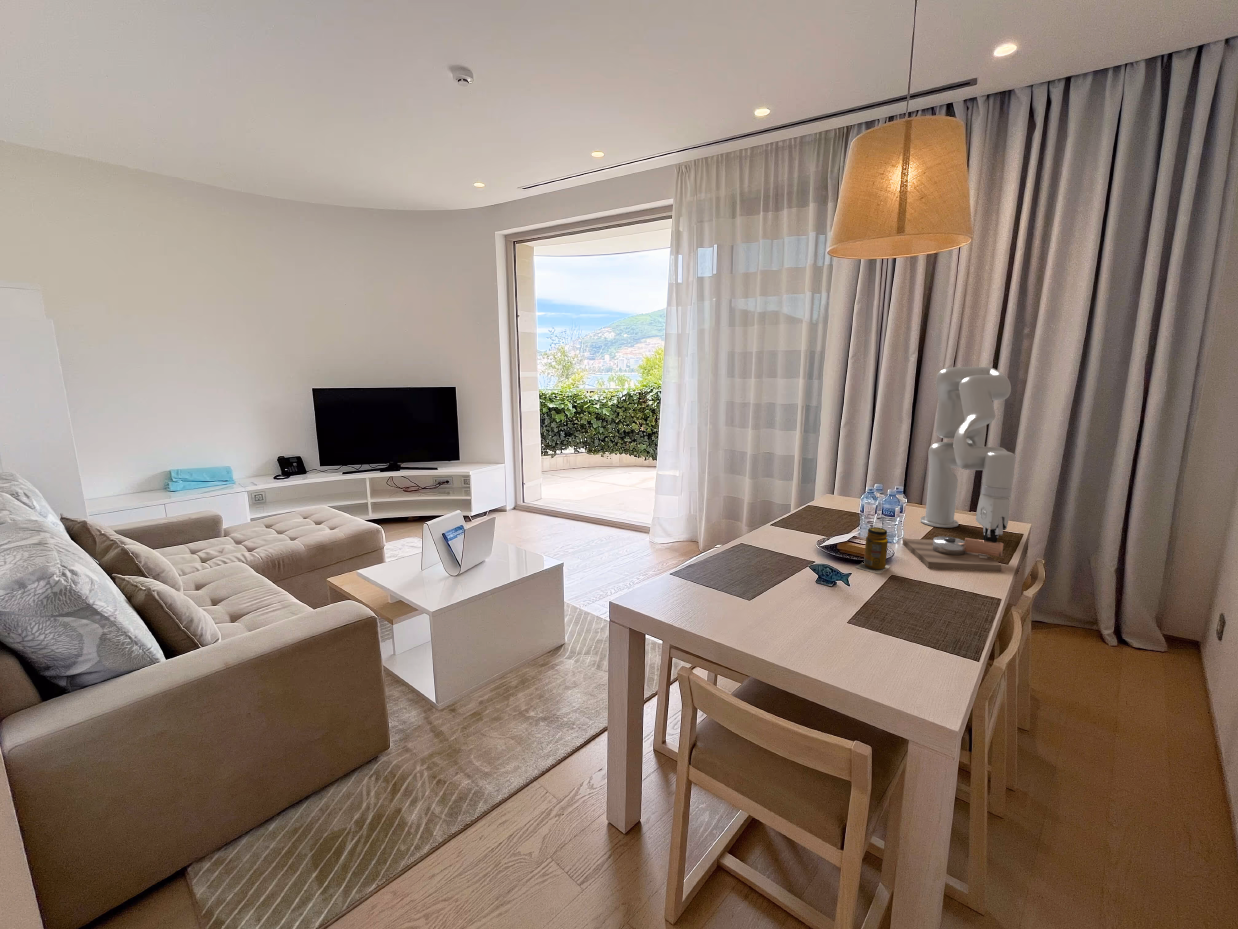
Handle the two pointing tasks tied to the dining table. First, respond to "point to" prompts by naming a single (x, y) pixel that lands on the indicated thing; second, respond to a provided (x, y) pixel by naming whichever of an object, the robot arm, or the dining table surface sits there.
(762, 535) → the dining table surface
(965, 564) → the wooden cutting board
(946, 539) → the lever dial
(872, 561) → the condiment
